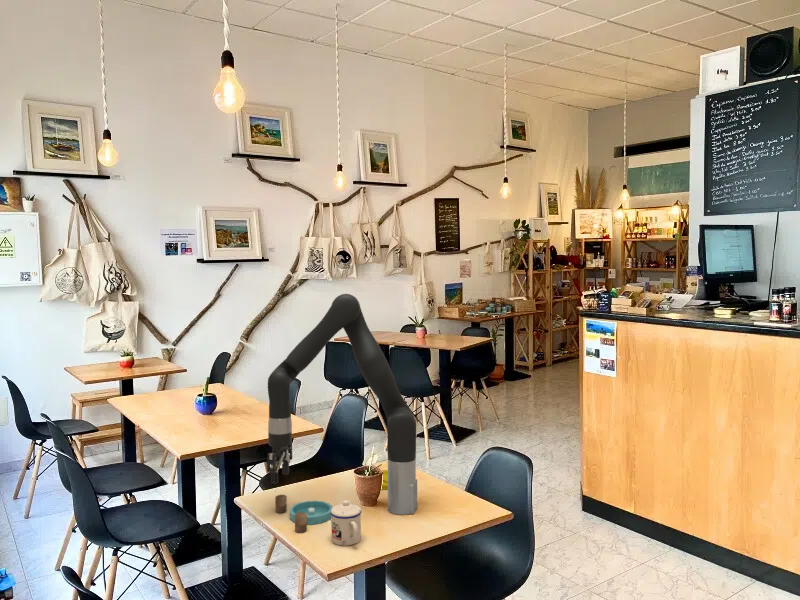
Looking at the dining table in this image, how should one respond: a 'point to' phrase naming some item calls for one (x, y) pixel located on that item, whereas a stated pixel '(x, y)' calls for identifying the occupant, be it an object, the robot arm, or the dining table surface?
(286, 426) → the robot arm
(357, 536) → the teacup with lid
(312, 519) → the groove tray
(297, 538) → the dining table surface
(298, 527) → the walnut bead
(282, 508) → the walnut bead
